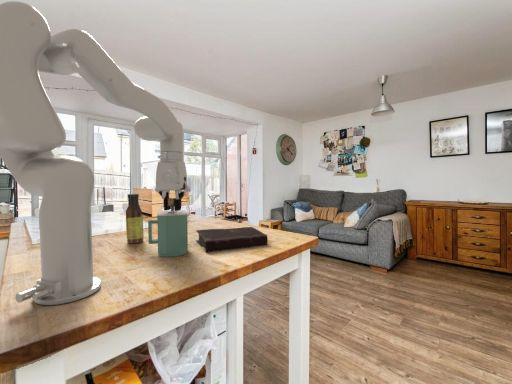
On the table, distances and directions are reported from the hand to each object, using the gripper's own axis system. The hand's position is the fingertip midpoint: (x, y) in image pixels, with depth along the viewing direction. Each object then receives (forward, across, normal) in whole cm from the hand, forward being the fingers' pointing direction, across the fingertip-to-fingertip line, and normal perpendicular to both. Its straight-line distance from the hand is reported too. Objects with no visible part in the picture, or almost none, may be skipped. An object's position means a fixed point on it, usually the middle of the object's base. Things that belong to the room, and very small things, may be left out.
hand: (172, 209), depth 88 cm
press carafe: (+15, -1, -1) cm, 16 cm away
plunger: (+11, 0, 0) cm, 11 cm away
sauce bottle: (+16, -23, +8) cm, 29 cm away
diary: (+16, +15, +18) cm, 29 cm away
